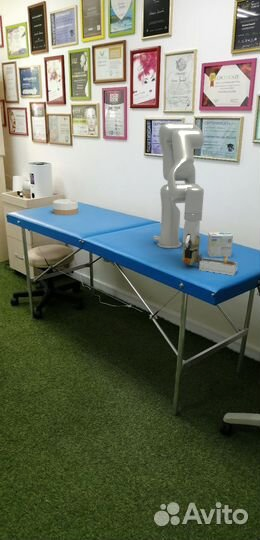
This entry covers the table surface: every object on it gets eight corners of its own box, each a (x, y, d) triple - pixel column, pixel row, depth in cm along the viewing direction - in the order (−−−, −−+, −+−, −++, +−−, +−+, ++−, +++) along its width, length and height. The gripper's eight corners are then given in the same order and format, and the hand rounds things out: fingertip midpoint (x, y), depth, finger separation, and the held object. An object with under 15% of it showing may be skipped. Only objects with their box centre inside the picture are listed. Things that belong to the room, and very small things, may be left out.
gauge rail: (198, 270, 175) (199, 261, 174) (203, 265, 181) (203, 256, 180) (233, 275, 169) (234, 266, 168) (236, 270, 175) (237, 261, 174)
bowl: (51, 215, 276) (50, 203, 273) (56, 210, 292) (55, 198, 289) (76, 215, 275) (75, 203, 272) (80, 210, 291) (79, 199, 288)
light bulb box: (227, 252, 199) (229, 231, 195) (231, 257, 193) (233, 235, 189) (206, 252, 199) (208, 231, 195) (209, 257, 192) (211, 235, 189)
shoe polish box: (182, 262, 180) (183, 236, 176) (190, 259, 183) (191, 234, 179) (190, 265, 176) (192, 238, 172) (198, 262, 179) (200, 236, 175)
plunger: (197, 265, 177) (198, 254, 175) (199, 263, 179) (200, 252, 178) (225, 270, 172) (227, 258, 170) (227, 267, 175) (228, 256, 173)
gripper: (190, 211, 181) (187, 249, 187) (178, 219, 166) (176, 260, 172) (206, 213, 178) (203, 251, 184) (196, 221, 163) (193, 262, 170)
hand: (190, 255), depth 178 cm, fingers closed on shoe polish box, 6 cm apart
